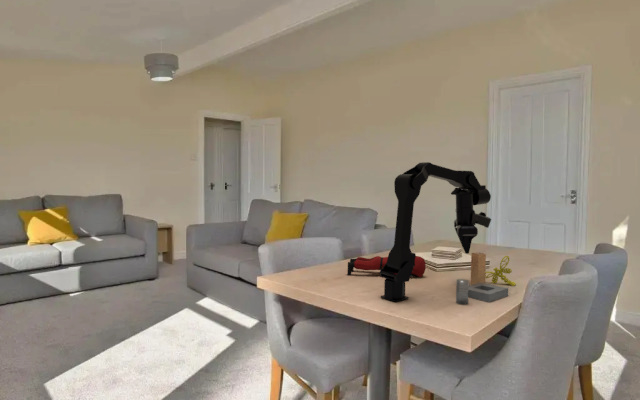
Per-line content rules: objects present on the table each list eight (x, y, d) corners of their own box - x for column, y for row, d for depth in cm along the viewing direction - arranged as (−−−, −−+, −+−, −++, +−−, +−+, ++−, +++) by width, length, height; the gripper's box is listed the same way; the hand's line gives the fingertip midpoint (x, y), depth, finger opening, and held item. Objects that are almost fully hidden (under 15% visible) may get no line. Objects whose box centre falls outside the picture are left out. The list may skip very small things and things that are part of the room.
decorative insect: (496, 298, 157) (477, 275, 161) (497, 296, 160) (479, 273, 163) (526, 278, 152) (506, 255, 155) (527, 276, 155) (508, 253, 158)
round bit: (463, 305, 131) (464, 282, 131) (453, 302, 134) (454, 280, 134) (470, 303, 134) (471, 280, 133) (460, 300, 136) (460, 278, 136)
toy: (343, 282, 160) (426, 286, 154) (343, 260, 160) (427, 263, 154) (353, 267, 188) (424, 270, 182) (353, 247, 187) (424, 250, 181)
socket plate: (488, 302, 134) (489, 294, 134) (460, 295, 142) (460, 287, 142) (508, 295, 142) (508, 288, 142) (480, 289, 150) (480, 282, 150)
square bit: (477, 288, 151) (478, 254, 150) (470, 286, 154) (471, 252, 153) (484, 287, 152) (485, 253, 152) (477, 285, 155) (478, 252, 155)
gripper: (493, 209, 140) (494, 256, 142) (484, 203, 158) (485, 244, 160) (457, 210, 143) (458, 256, 144) (453, 204, 161) (454, 245, 162)
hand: (465, 250), depth 153 cm, fingers open, 9 cm apart
